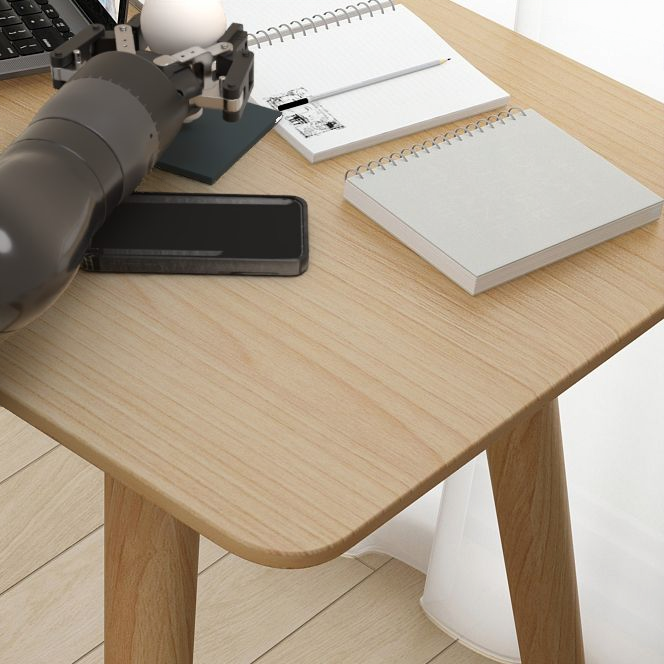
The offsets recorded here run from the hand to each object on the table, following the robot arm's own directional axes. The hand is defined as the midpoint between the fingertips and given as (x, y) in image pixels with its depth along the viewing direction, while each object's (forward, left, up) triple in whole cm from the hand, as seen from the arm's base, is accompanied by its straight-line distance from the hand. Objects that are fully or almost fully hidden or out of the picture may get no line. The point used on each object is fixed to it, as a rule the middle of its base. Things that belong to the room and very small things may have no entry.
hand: (195, 27), depth 88 cm
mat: (0, -2, -7) cm, 8 cm away
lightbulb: (0, -2, -7) cm, 7 cm away
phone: (+8, -14, -8) cm, 18 cm away
